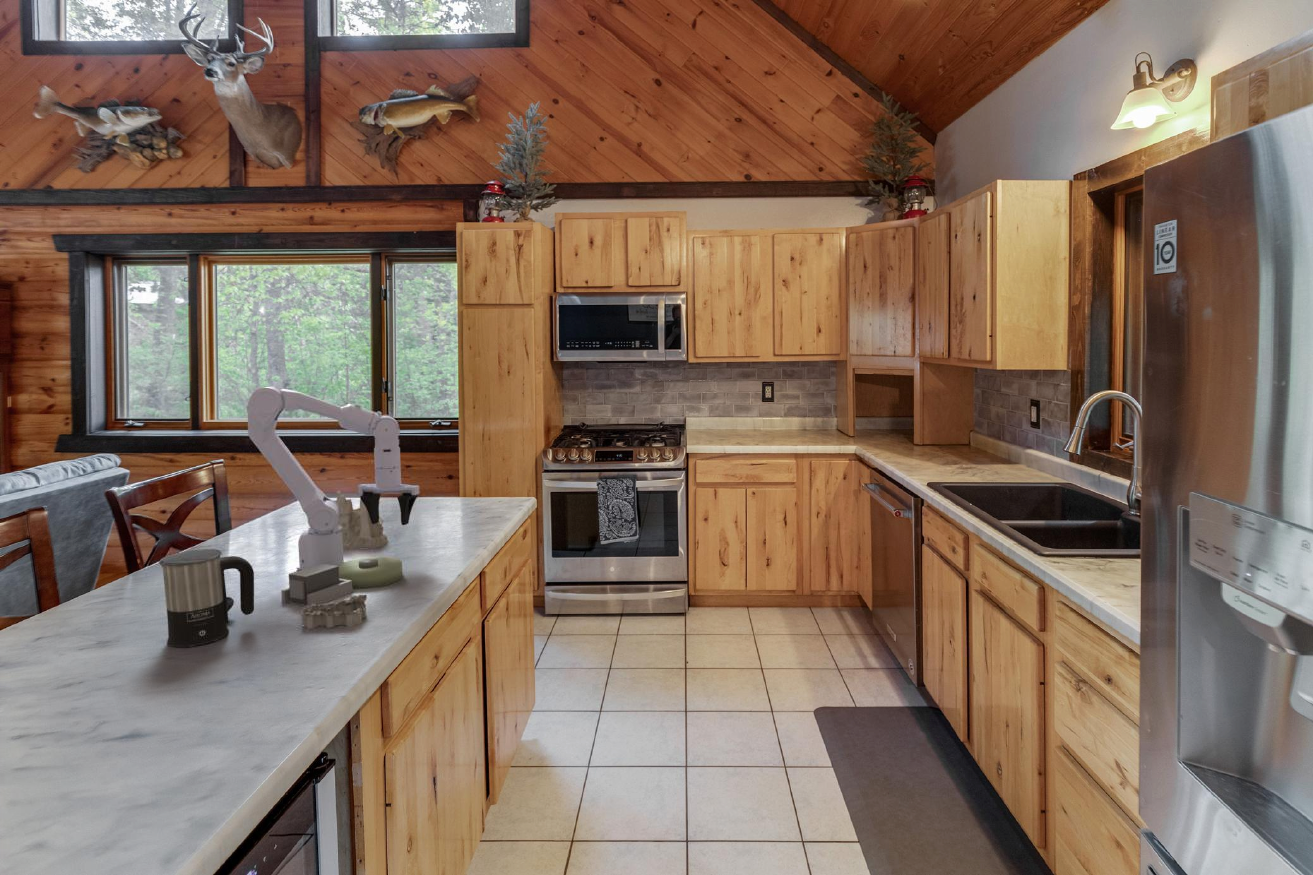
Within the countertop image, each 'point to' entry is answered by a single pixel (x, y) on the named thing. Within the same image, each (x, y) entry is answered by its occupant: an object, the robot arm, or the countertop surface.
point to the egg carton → (335, 612)
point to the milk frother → (202, 595)
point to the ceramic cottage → (358, 526)
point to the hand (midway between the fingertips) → (390, 523)
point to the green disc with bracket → (356, 578)
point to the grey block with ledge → (311, 581)
